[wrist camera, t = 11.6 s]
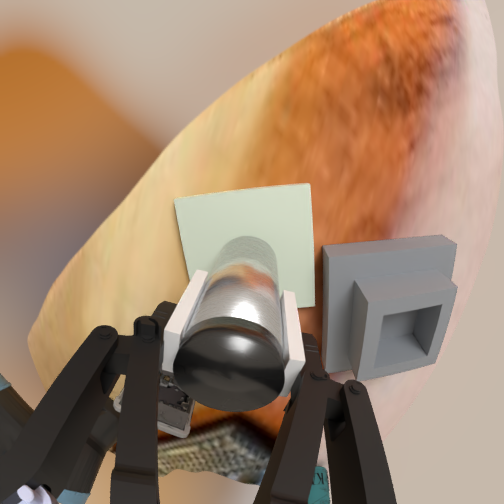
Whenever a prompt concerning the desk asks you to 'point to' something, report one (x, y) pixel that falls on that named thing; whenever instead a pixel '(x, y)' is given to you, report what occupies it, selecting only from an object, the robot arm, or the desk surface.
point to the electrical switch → (170, 406)
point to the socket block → (386, 304)
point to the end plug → (235, 332)
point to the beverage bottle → (319, 487)
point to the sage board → (253, 231)
